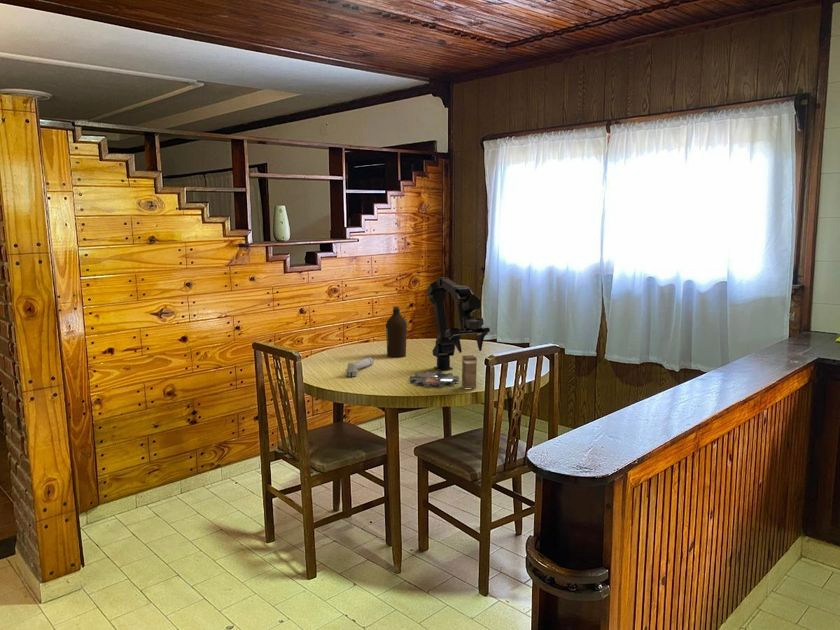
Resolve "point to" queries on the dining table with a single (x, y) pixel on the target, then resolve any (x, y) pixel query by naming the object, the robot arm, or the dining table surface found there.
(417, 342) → the dining table surface
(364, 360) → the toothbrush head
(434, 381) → the sprocket plate
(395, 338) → the olive oil
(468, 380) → the link block
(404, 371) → the dining table surface
